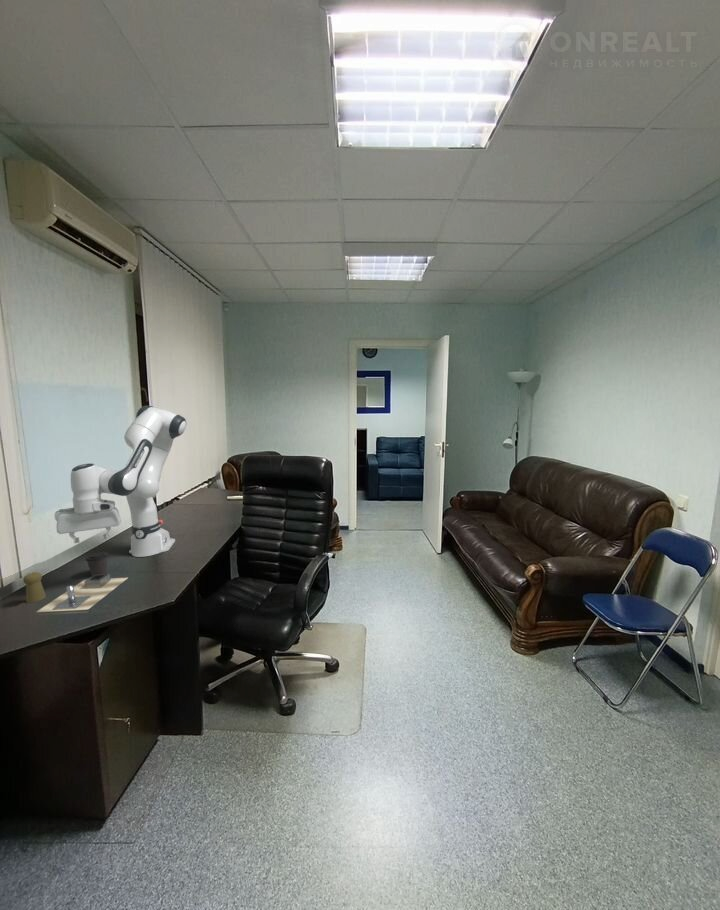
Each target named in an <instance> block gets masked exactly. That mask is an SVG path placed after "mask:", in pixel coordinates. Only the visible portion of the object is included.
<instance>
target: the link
mask: <svg viewBox="0 0 720 910" xmlns="http://www.w3.org/2000/svg"><path fill="white" fill-rule="evenodd" d="M110 578H111V575H110V573H106V574H94V575H93V576H89V578H87V579H85V580H86V581H84V583H85V589H88V588H101V587H103V586H104V585H105V584H107V583H108V582H109V581H111V580H110Z"/></svg>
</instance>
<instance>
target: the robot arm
mask: <svg viewBox="0 0 720 910" xmlns="http://www.w3.org/2000/svg"><path fill="white" fill-rule="evenodd" d="M186 427H187V419H186V418H185V417H184V416H182V415H181V414H176V413H175V412H173V411H170V410H167V409H163V408H158V407H154V406H152V405H144V406H141V407H140V408H139V409H138V410H137V412H136V415H135V419H133V421H132V423H130V425H129V427H128V428H127V429H126V431H125V433H124V436H123V437H124V438H123V439H124V442H125V443H126V446H128V447H130V449H132V453H131V455H130V457H129V459H128V460H127V463H126V464H125V466H124V467H123V468H121V469H108V468H103V467H100V466H98V465H96V464H95V463H90V462H89V463H83V464H79V465H77V466H75V467H73V468H72V469H71V472H70V489H71V491H72V493H73V494H72V495H73V496H72V504H73V507H68V508H60V509H58V510H57V511H55V513H54V520H55V521H56V532H57V533H58V534H59V535H63V534H68V535H69V537H71V539H72V540H73V543H74V544H79V543H80V537H76V535H75V534H76V533H77V532H85V531H93V530H100V529H105V530H106V533H103V534H102V535H103V540H106V539H109V533H110V531H111V529H112V527H119V526H120V524H121V523H122V522H121V521H122V520H121V515H120V510H119V509H118V508H117V507H115V506H116V502H115V501H114V500H109V499H103V498H102V497H101V495H102V494H110V495H116V496H121V497H126V500H127V504H128V507H129V511H130V519H131V534H132V535H131V536H130V549H129V551H128V552H129V554H131V556H133V557H136V558H143V557H150V556H154V555H157V554H160V553H165V552H167V551H169V550H171V549H170V548H172V546H173V545H174V544H175V542H176V539H175V538H171V537H170V532H169V531H168V530H167V529H164V528H162V526H161V525H162V524H164V521H163V519H158V518H159V517H158V509H157V505H156V503H155V501H154V498H153V497H155V496H156V495H157V494H158V493H159V490H160V481H161V480H160V479H161V476H162V472H163V469H164V465H165V462H166V460H167V458H168V456H169V454H170V451H171V449H172V446H173V443H174V440H175V439H176V438H179V437H180V436H181V435H182V434H183V433H184V432H185V431H186Z"/></svg>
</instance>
